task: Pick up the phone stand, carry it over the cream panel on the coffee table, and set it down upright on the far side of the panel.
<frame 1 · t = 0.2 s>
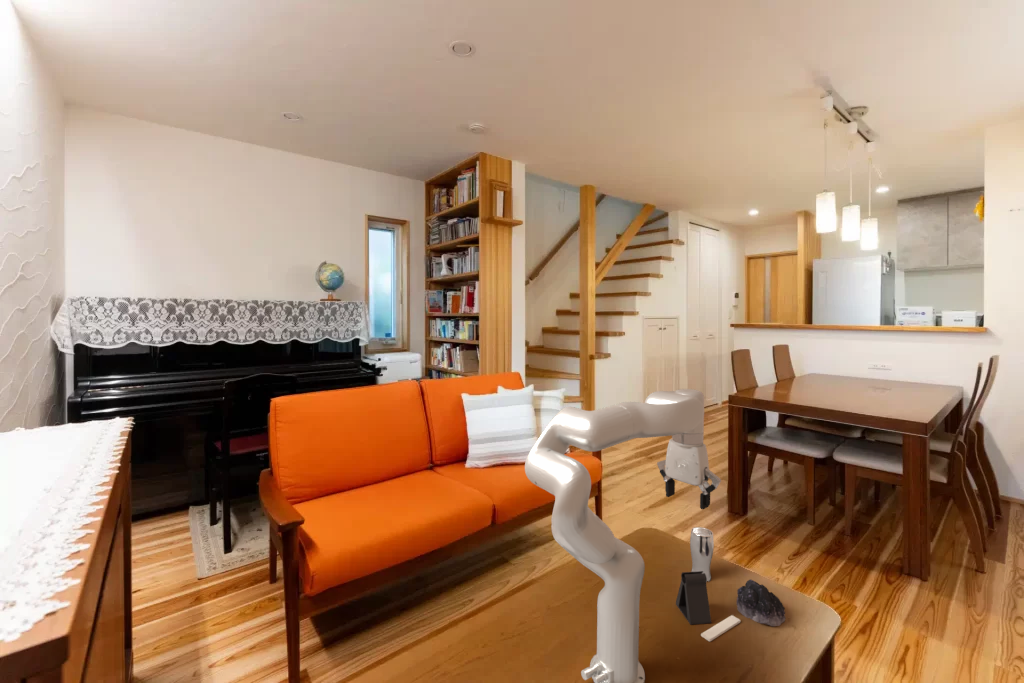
hand: (686, 501, 117), 36 cm above the table, tool pointing down, fingers open, 9 cm apart
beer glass: (700, 577, 145), on the table
cream panel: (721, 628, 120), on the table
black rock: (759, 613, 127), on the table
phone stand: (692, 614, 127), on the table
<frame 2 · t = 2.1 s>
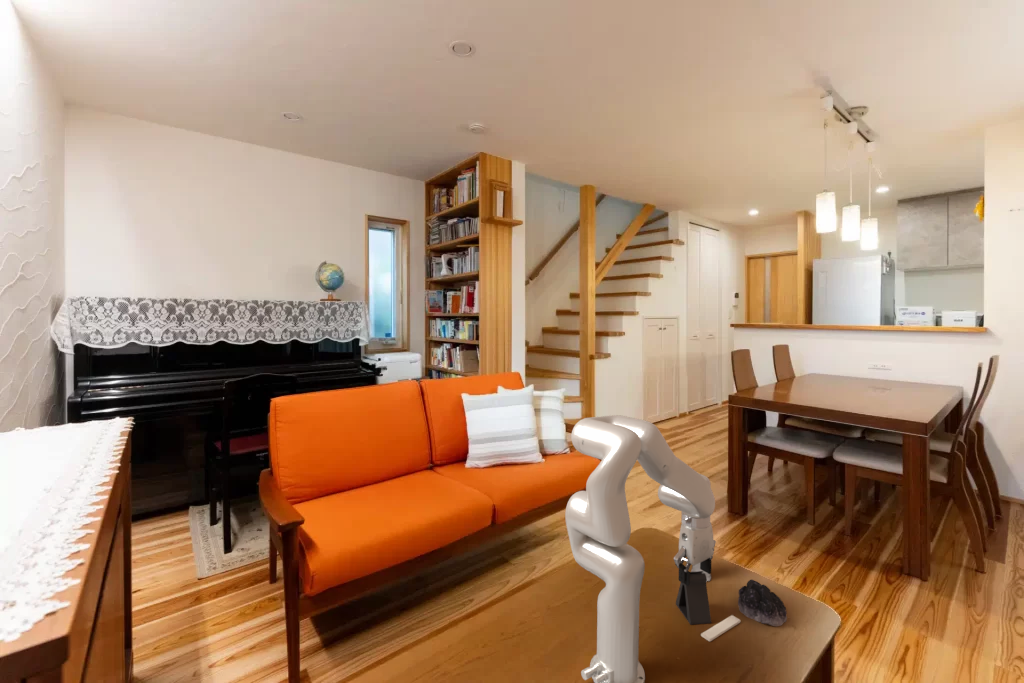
hand: (695, 577, 126), 10 cm above the table, tool pointing down, fingers open, 9 cm apart
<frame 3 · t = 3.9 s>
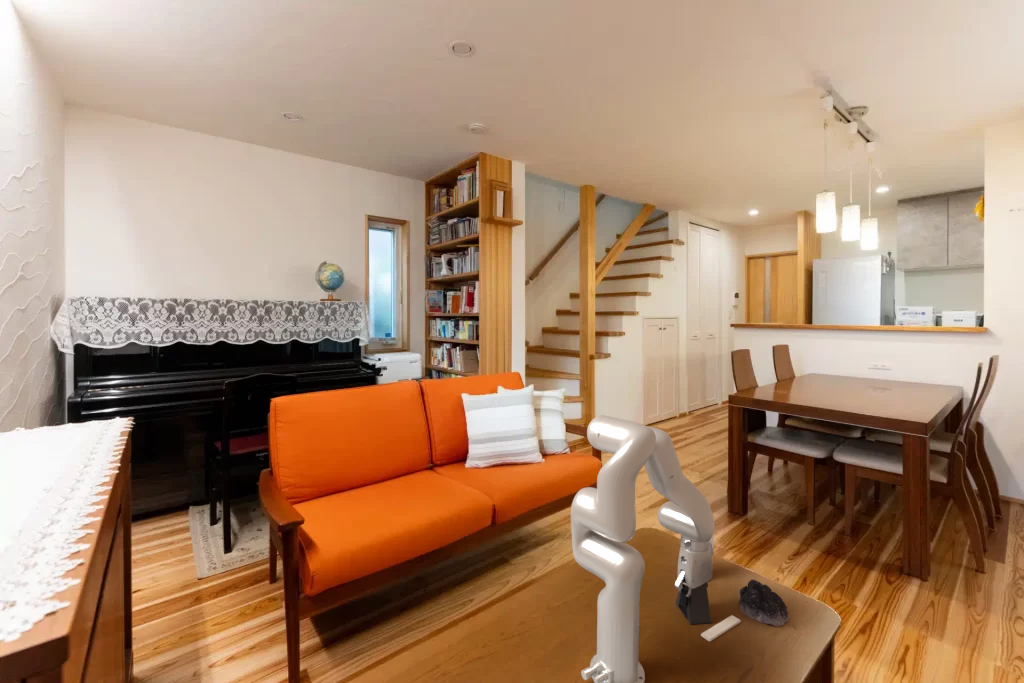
hand: (693, 603, 126), 3 cm above the table, tool pointing down, fingers closed on phone stand, 6 cm apart
phone stand: (693, 614, 127), on the table, touching gripper
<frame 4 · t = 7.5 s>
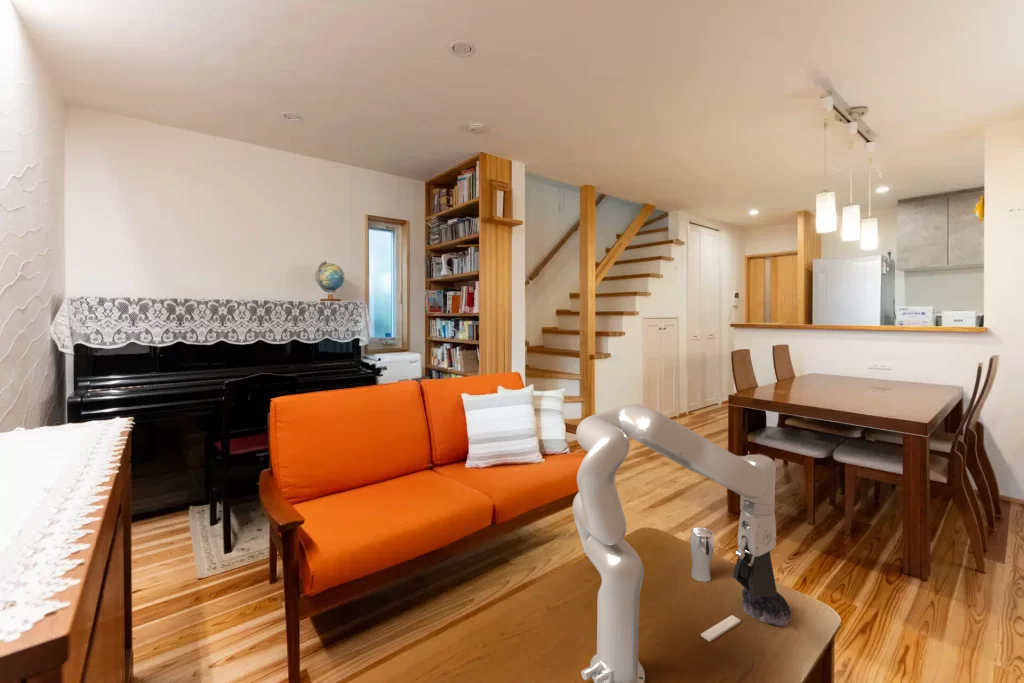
hand: (754, 574, 113), 19 cm above the table, tool pointing down, fingers closed on phone stand, 6 cm apart
phone stand: (754, 586, 113), point 16 cm above the table, touching gripper
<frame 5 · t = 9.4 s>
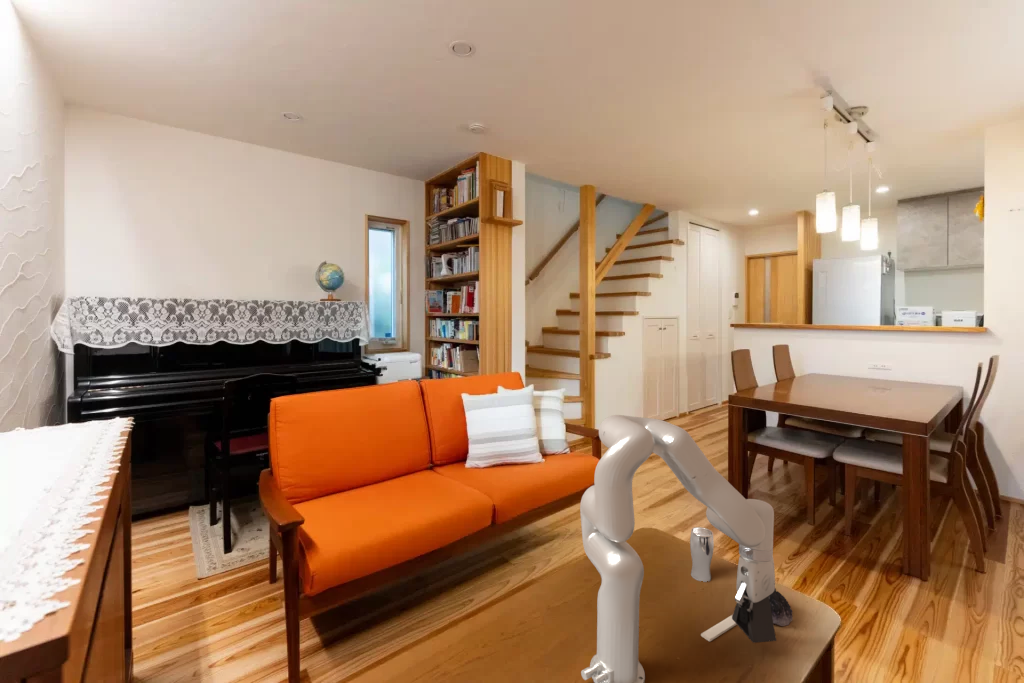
hand: (753, 618, 114), 7 cm above the table, tool pointing down, fingers closed on phone stand, 6 cm apart
phone stand: (753, 630, 114), point 4 cm above the table, touching gripper
when the fingers open (4 cm above the table, at t = 11.0 s): phone stand drops 1 cm, on the table.
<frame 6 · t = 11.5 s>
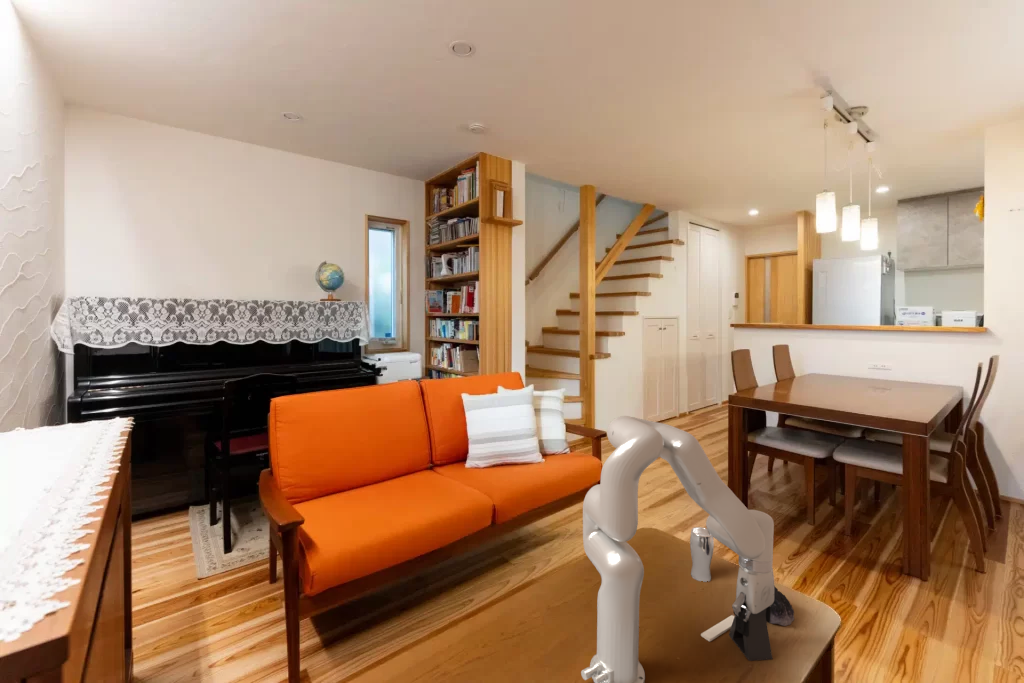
hand: (753, 626, 114), 5 cm above the table, tool pointing down, fingers open, 9 cm apart
phone stand: (749, 648, 114), on the table
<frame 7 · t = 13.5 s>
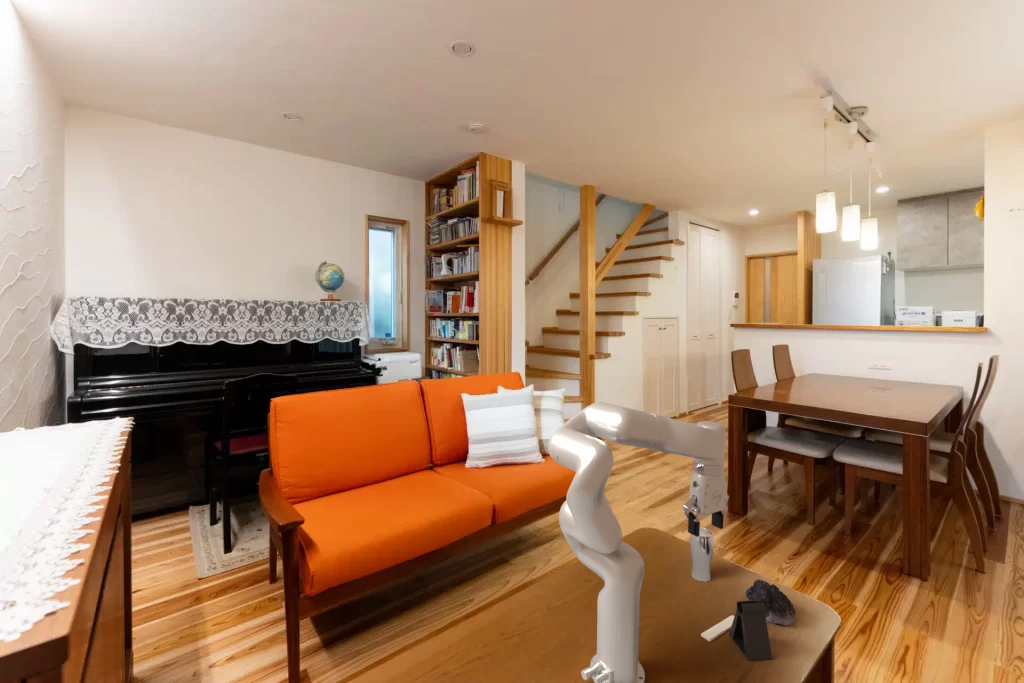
hand: (705, 530, 120), 27 cm above the table, tool pointing down, fingers open, 9 cm apart
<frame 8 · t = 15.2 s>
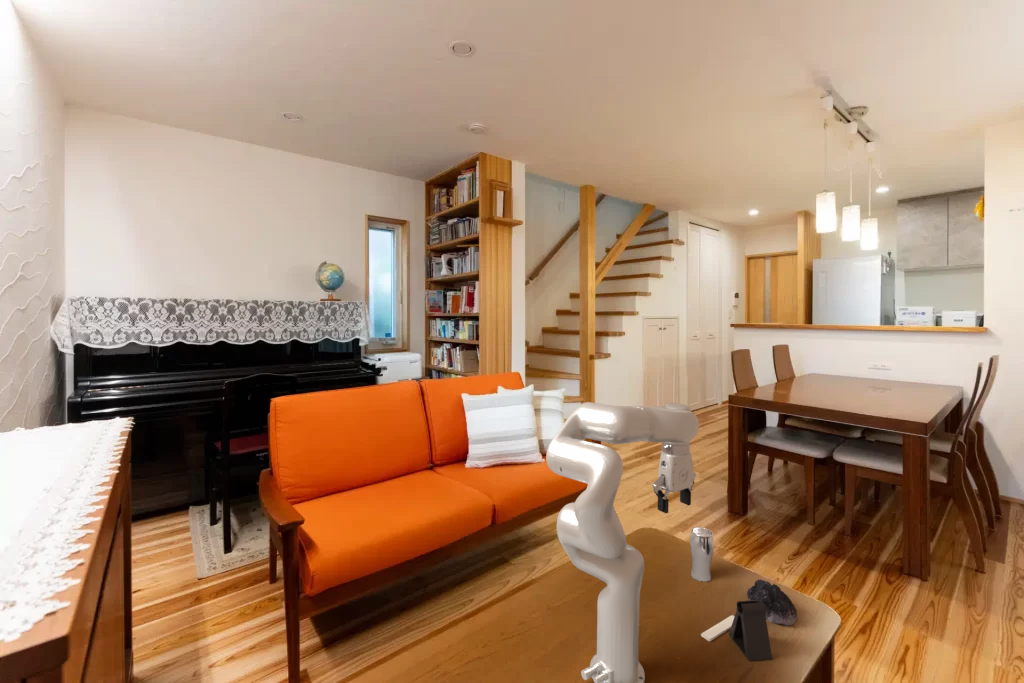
hand: (674, 507, 126), 30 cm above the table, tool pointing down, fingers open, 9 cm apart
at the end: phone stand inside the target area (1.0 cm from its centre), on the table; phone stand tilted 0°; the gripper is holding nothing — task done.
